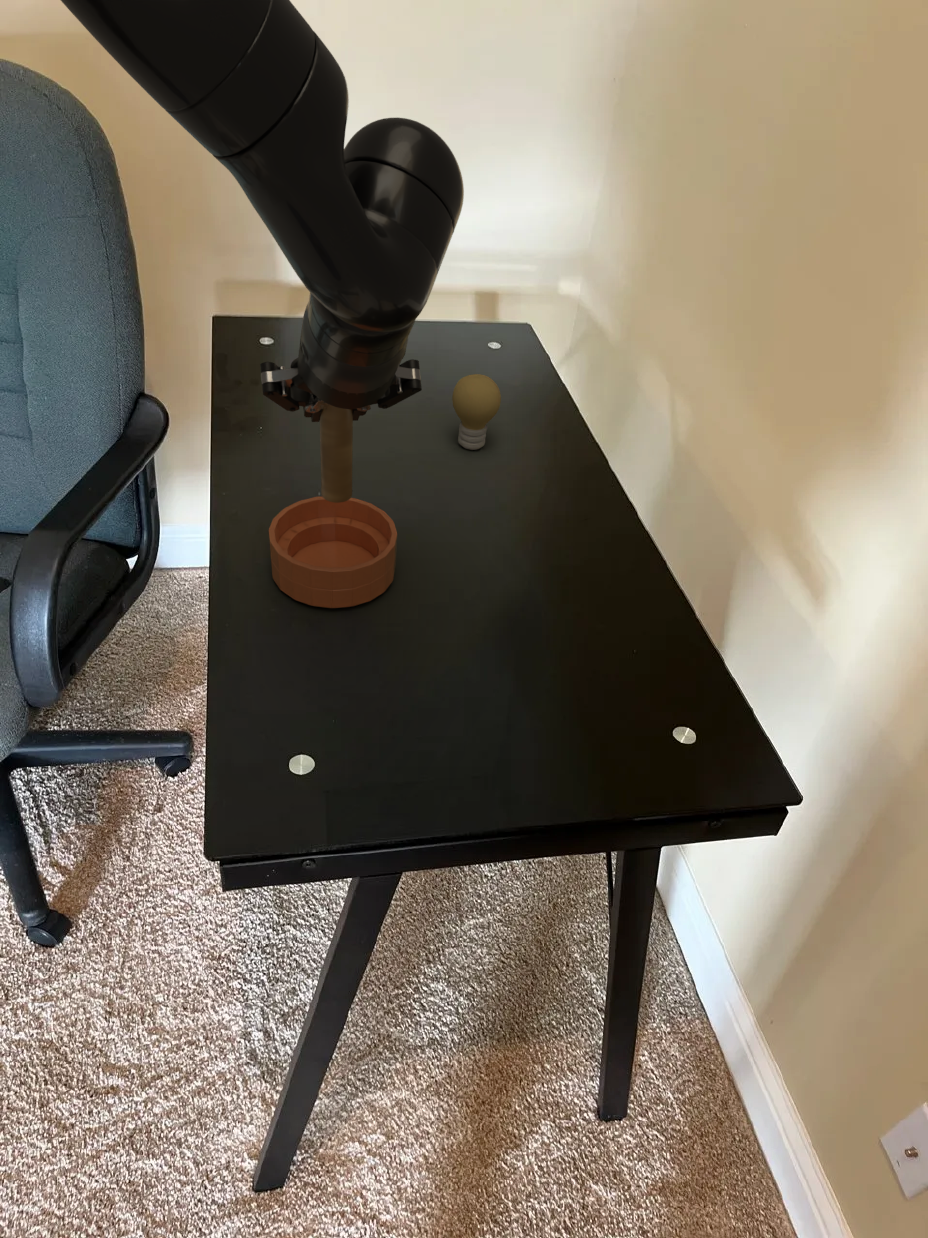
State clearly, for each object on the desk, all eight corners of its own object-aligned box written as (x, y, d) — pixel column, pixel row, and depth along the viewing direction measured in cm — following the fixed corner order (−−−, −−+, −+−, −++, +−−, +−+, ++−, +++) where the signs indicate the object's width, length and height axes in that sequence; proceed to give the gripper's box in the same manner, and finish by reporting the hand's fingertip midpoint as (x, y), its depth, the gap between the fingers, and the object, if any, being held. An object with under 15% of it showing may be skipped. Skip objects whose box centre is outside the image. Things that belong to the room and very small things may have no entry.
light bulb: (456, 459, 110) (463, 389, 103) (441, 434, 114) (448, 367, 108) (500, 455, 112) (510, 387, 105) (485, 431, 116) (493, 364, 110)
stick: (323, 503, 80) (321, 388, 72) (319, 486, 82) (317, 373, 74) (354, 501, 81) (355, 388, 73) (349, 485, 83) (350, 372, 75)
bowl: (277, 617, 84) (274, 576, 80) (267, 539, 93) (264, 499, 90) (404, 606, 87) (407, 565, 83) (383, 532, 96) (384, 492, 93)
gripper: (440, 292, 62) (402, 370, 79) (249, 291, 59) (252, 372, 76) (450, 389, 62) (410, 447, 79) (259, 394, 59) (260, 453, 76)
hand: (333, 410), depth 77 cm, fingers closed on stick, 3 cm apart
